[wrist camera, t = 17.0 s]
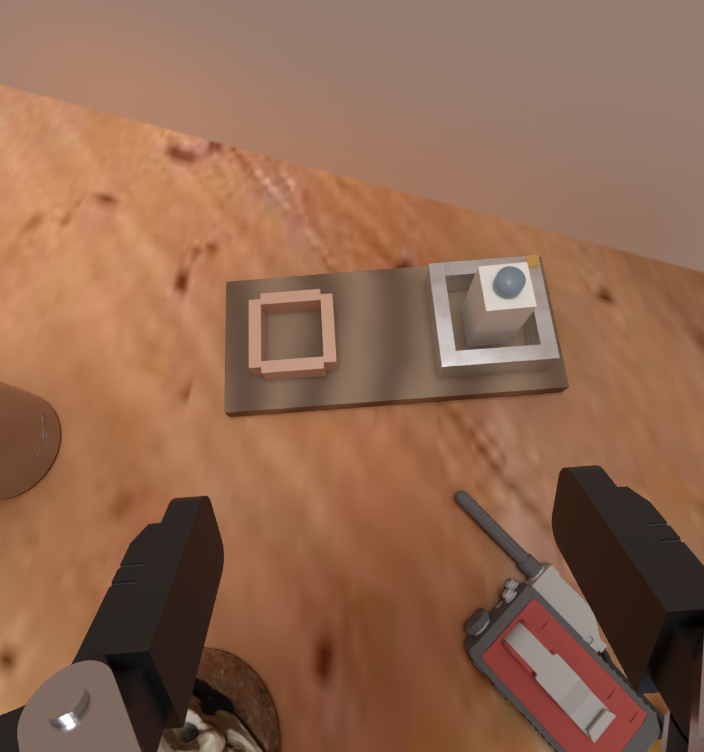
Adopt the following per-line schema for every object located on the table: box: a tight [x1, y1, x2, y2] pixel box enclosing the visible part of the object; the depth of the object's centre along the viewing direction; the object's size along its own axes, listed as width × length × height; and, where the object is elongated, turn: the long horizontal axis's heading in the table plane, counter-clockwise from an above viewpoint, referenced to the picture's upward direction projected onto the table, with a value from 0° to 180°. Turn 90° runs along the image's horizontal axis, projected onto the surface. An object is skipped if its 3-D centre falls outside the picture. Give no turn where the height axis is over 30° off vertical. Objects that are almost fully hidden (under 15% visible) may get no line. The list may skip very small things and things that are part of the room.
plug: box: [461, 262, 537, 347], centre depth 36 cm, size 4×4×8 cm
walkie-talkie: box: [455, 491, 665, 752], centre depth 33 cm, size 9×4×20 cm
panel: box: [225, 257, 569, 417], centre depth 41 cm, size 28×12×2 cm, turn 94°
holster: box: [249, 289, 338, 380], centre depth 39 cm, size 7×7×2 cm
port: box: [425, 255, 560, 378], centre depth 38 cm, size 9×9×3 cm
